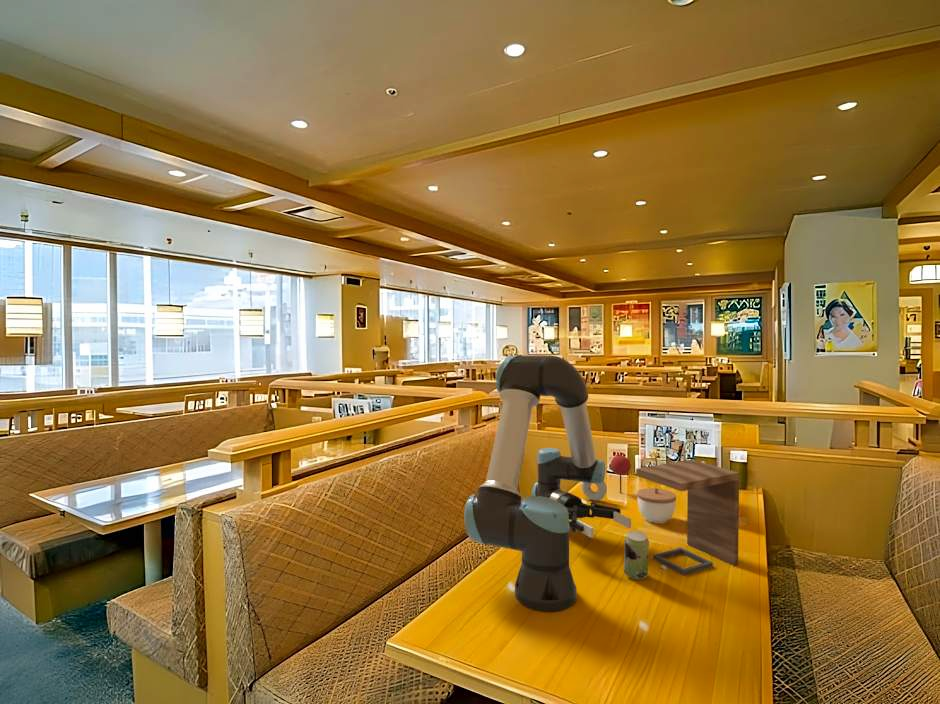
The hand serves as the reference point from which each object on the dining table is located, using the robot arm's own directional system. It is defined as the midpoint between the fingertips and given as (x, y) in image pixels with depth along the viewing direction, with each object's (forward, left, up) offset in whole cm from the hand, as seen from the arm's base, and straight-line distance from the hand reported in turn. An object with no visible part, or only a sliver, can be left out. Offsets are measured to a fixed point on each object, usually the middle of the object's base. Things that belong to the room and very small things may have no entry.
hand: (611, 528), depth 143 cm
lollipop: (+57, +28, -10) cm, 64 cm away
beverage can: (-4, -9, -10) cm, 14 cm away
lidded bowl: (+39, +5, -10) cm, 41 cm away
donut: (+42, +31, -10) cm, 53 cm away
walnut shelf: (+14, -15, -10) cm, 23 cm away
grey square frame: (+13, -15, -10) cm, 22 cm away
